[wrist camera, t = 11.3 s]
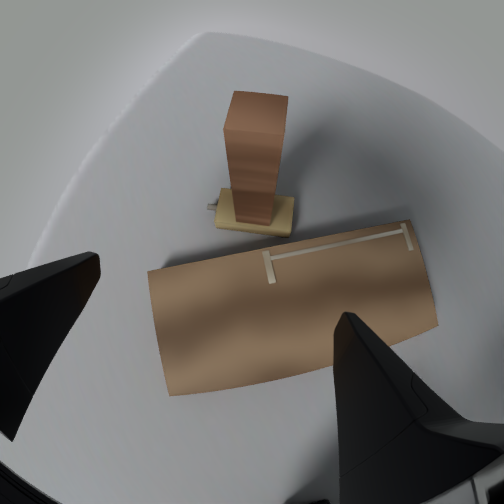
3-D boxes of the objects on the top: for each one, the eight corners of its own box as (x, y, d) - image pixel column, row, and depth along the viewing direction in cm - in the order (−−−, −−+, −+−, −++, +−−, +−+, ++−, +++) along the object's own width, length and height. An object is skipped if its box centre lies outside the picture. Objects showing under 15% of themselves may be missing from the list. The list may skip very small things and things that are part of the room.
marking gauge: (288, 238, 23) (323, 145, 11) (206, 226, 23) (165, 129, 11) (291, 205, 24) (323, 99, 12) (212, 194, 24) (184, 86, 12)
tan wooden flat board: (425, 326, 21) (439, 325, 19) (176, 390, 20) (169, 396, 18) (399, 227, 23) (410, 218, 21) (155, 276, 22) (146, 271, 20)
